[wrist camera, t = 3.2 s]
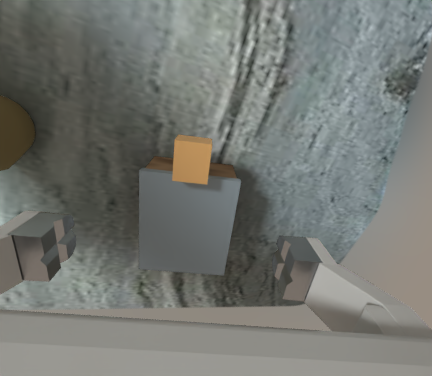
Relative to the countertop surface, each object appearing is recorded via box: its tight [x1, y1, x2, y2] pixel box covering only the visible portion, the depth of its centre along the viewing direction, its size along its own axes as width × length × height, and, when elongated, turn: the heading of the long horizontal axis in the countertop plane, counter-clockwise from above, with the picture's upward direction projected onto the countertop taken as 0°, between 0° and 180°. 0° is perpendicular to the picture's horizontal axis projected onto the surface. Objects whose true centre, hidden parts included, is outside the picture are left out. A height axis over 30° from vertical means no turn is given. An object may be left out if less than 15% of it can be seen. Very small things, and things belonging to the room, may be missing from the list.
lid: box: [139, 135, 241, 276], centre depth 23 cm, size 9×15×3 cm, turn 172°
